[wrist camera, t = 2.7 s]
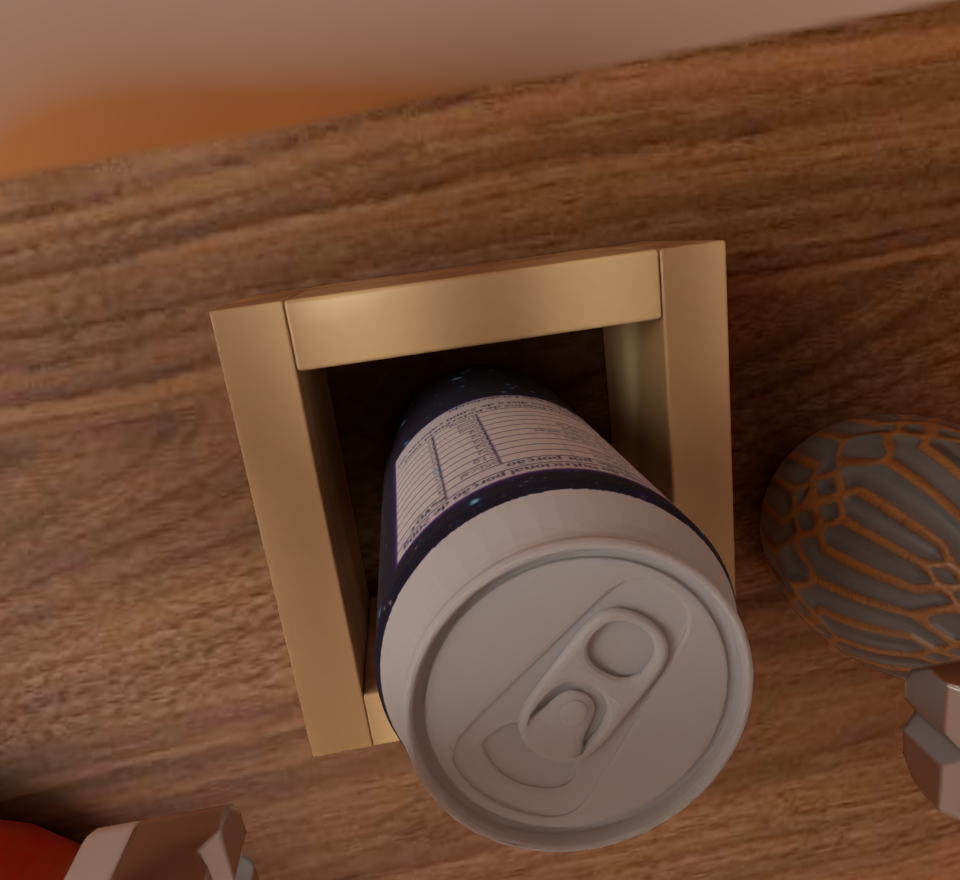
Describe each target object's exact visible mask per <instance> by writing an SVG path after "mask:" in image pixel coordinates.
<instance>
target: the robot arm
mask: <svg viewBox="0 0 960 880" xmlns="http://www.w3.org/2000/svg"><path fill="white" fill-rule="evenodd" d="M904 698H905V700H906V701H907V702H908V703H909V704H910V705H911V707H912V708H913V709H914V710H915V712H914V713H913V715H912V716H911V718H910V719H909V721H908V722H907V724H906V725H905V727H904V728H903V754H904V757H905V760H906V763H907V765H908V768H909V771H910V774H911V776H912V778H913V779H914V781H915V782H916V784H917V786H918V787H919V789H920V790H921V792H922V793H923V794H924V795H925V796H926V798H927V799H928V800H929V801H930V802H931V803H932V804H933V805H934V806H935V807H936V808H937V809H938V810H939V811H941V812H943V813H945V814H947V815H950V816H952V817H954V818H956V819H958V820H960V659H957V660H952V661H948V662H943V663H938V664H933V665H928V666H923V667H918V668H914V669H911V671H910V673H909V675H908V676H907V678H906V680H905V694H904ZM245 834H246V830H245V826H244V823H243V820H242V817H241V814H240V811H239V808H238V807H236V806H234V805H233V804H228V805H223V806H217V807H211V808H205V809H200V810H194V811H188V812H182V813H177V814H171V815H165V816H159V817H154V818H148V819H143V820H142V821H135V822H130V823H124V824H118V825H113V826H107V827H102V828H97V829H96V830H95V831H93V832H92V833H91V834H90V835H88V836H87V837H86V839H85V840H84V842H83V843H82V845H81V847H80V849H79V851H78V853H77V855H76V857H75V859H74V861H73V863H72V865H71V867H70V869H69V871H68V872H67V874H66V876H65V878H64V880H259V878H258V874H257V870H256V866H255V863H254V862H253V861H251V860H250V859H248V858H247V857H246V856H244V855H243V854H241V851H242V847H243V843H244V838H245Z"/></svg>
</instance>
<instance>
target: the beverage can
mask: <svg viewBox="0 0 960 880" xmlns="http://www.w3.org/2000/svg"><path fill="white" fill-rule="evenodd" d="M375 674H376V683H377V688H378V693H379V697H380V700H381V703H382V707H383V709H384V712H385V714H386V717H387V719H388V721H389V723H390V725H391V727H392V729H393V731H394V732H395V734H396V735H397V737H398V738H399V740H400V742H401V743H402V744H403V745H404V747H405V748H406V749H407V751H408V755H409V758H410V760H411V762H412V765H413V767H414V769H415V771H416V773H417V775H418V777H419V779H420V781H421V782H422V784H423V786H424V787H425V789H426V790H427V791H428V792H429V794H430V795H431V796H432V798H433V799H434V800H435V801H436V803H437V804H438V805H439V806H440V807H441V808H442V809H444V810H445V811H446V812H447V813H448V814H449V815H450V816H451V817H452V818H454V819H455V820H456V821H458V822H459V823H461V824H462V825H464V826H465V827H467V828H469V829H470V830H472V831H473V832H475V833H477V834H479V835H481V836H484V837H486V838H488V839H491V840H493V841H495V842H498V843H501V844H505V845H509V846H513V847H516V848H520V849H526V850H534V851H543V852H574V851H581V850H588V849H595V848H600V847H604V846H608V845H611V844H615V843H619V842H622V841H625V840H628V839H630V838H632V837H635V836H637V835H640V834H642V833H645V832H647V831H649V830H651V829H652V828H654V827H656V826H658V825H660V824H661V823H663V822H665V821H667V820H668V819H670V818H671V817H673V816H674V815H676V814H677V813H678V812H680V811H681V810H682V809H684V808H685V807H686V806H688V805H689V804H690V803H691V802H692V801H694V800H695V799H696V798H697V797H698V796H699V795H700V794H701V793H702V792H703V791H704V790H705V789H706V788H707V787H708V786H709V785H710V784H711V782H712V781H713V780H714V779H715V777H716V776H717V775H718V774H719V772H720V771H721V770H722V769H723V767H724V766H725V765H726V763H727V761H728V760H729V758H730V756H731V754H732V753H733V751H734V749H735V748H736V746H737V744H738V742H739V740H740V737H741V735H742V732H743V730H744V727H745V724H746V722H747V719H748V714H749V710H750V705H751V701H752V695H753V677H754V672H753V664H752V656H751V649H750V645H749V642H748V639H747V635H746V632H745V629H744V627H743V624H742V622H741V620H740V618H739V616H738V611H737V603H736V598H735V594H734V589H733V586H732V583H731V580H730V577H729V574H728V572H727V570H726V567H725V565H724V563H723V561H722V559H721V557H720V556H719V554H718V552H717V551H716V549H715V548H714V546H713V545H712V543H711V542H710V541H709V540H708V538H707V537H706V536H705V534H704V533H703V532H702V531H701V530H700V529H699V528H698V527H697V526H696V525H695V524H694V523H693V522H692V521H691V520H690V519H689V518H688V517H687V516H686V515H684V514H683V513H682V512H681V511H680V510H679V509H678V508H677V507H676V506H675V505H674V504H673V503H672V502H671V501H669V500H668V499H667V498H666V497H665V496H664V495H663V494H662V493H661V492H660V491H659V490H658V489H657V488H655V487H654V486H653V485H652V484H651V483H650V482H649V481H648V480H647V479H646V478H645V477H644V476H643V475H642V474H640V473H639V472H638V471H637V470H636V469H635V468H634V467H633V466H632V465H631V464H630V463H629V462H628V461H627V460H625V459H624V458H623V457H622V456H621V455H620V454H619V453H618V452H617V451H616V450H615V449H614V448H613V447H612V446H610V445H609V444H608V443H607V442H606V441H605V440H604V439H603V438H602V437H601V436H600V435H599V434H598V433H597V432H595V431H594V430H593V429H592V428H591V427H590V426H589V425H588V424H587V423H586V422H585V421H584V420H583V419H582V418H580V417H579V416H578V415H577V414H576V413H575V412H574V411H573V410H572V409H571V408H570V407H569V406H568V405H567V404H565V403H564V402H563V401H562V400H561V399H560V398H559V397H558V396H557V395H556V394H555V393H554V392H553V391H551V390H550V389H549V388H548V387H547V386H545V385H544V384H543V383H541V382H540V381H538V380H536V379H535V378H533V377H531V376H529V375H527V374H524V373H522V372H519V371H516V370H513V369H509V368H503V367H496V366H477V367H469V368H464V369H460V370H456V371H453V372H450V373H448V374H445V375H443V376H441V377H439V378H437V379H435V380H434V381H432V382H430V383H429V384H427V385H426V386H425V387H423V388H422V389H421V390H419V391H418V392H417V393H416V394H415V395H414V396H413V397H412V398H411V399H410V400H409V401H408V402H407V404H406V405H405V406H404V407H403V409H402V410H401V412H400V413H399V415H398V416H397V418H396V420H395V422H394V424H393V426H392V428H391V431H390V433H389V437H388V440H387V444H386V449H385V457H384V476H383V496H382V517H381V537H380V558H379V579H378V599H377V620H376V641H375Z"/></svg>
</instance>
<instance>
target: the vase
mask: <svg viewBox="0 0 960 880" xmlns="http://www.w3.org/2000/svg"><path fill="white" fill-rule="evenodd" d="M760 535H761V541H762V547H763V552H764V556H765V559H766V562H767V564H768V567H769V569H770V572H771V574H772V576H773V579H774V580H775V582H776V584H777V586H778V587H779V589H780V591H781V593H782V594H783V596H784V597H785V599H786V600H787V602H788V603H789V604H790V605H791V606H792V608H793V609H794V610H795V611H796V612H797V613H798V615H799V616H800V617H801V618H802V619H803V620H804V621H805V622H806V623H807V624H808V625H809V626H810V627H811V628H812V629H813V630H814V631H815V632H816V633H818V634H819V635H820V636H821V637H823V638H824V639H825V640H826V641H827V642H829V643H830V644H831V645H832V646H834V647H835V648H837V649H838V650H840V651H842V652H843V653H845V654H846V655H848V656H850V657H851V658H853V659H855V660H857V661H859V662H861V663H863V664H865V665H867V666H869V667H872V668H874V669H876V670H879V671H881V672H883V673H886V674H889V675H892V676H895V677H898V678H901V679H904V680H906V678H907V676H908V675H909V673H910V671H911V669H914V668H918V667H923V666H928V665H933V664H938V663H943V662H948V661H952V660H957V659H960V424H957V423H953V422H950V421H946V420H942V419H937V418H932V417H927V416H922V415H915V414H877V415H868V416H861V417H856V418H852V419H849V420H845V421H842V422H838V423H835V424H833V425H830V426H828V427H826V428H824V429H822V430H820V431H818V432H816V433H815V434H813V435H811V436H810V437H808V438H807V439H806V440H804V441H803V442H802V443H801V444H799V445H798V446H797V447H796V448H795V449H794V450H793V451H792V452H791V453H790V454H789V455H788V456H787V457H786V458H785V459H784V461H783V462H782V463H781V465H780V466H779V467H778V469H777V470H776V472H775V474H774V475H773V477H772V479H771V481H770V483H769V486H768V488H767V490H766V493H765V496H764V500H763V503H762V508H761V515H760Z"/></svg>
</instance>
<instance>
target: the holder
mask: <svg viewBox="0 0 960 880" xmlns="http://www.w3.org/2000/svg"><path fill="white" fill-rule="evenodd" d="M209 315H210V319H211V323H212V328H213V332H214V336H215V340H216V345H217V349H218V353H219V357H220V362H221V366H222V370H223V375H224V379H225V383H226V387H227V392H228V396H229V400H230V405H231V409H232V413H233V417H234V422H235V426H236V430H237V435H238V439H239V443H240V447H241V452H242V456H243V460H244V465H245V469H246V473H247V477H248V482H249V486H250V490H251V495H252V499H253V503H254V507H255V512H256V516H257V520H258V525H259V529H260V533H261V537H262V542H263V546H264V550H265V555H266V559H267V563H268V567H269V572H270V576H271V580H272V585H273V589H274V593H275V597H276V602H277V606H278V610H279V615H280V619H281V623H282V627H283V632H284V636H285V640H286V645H287V649H288V653H289V657H290V662H291V666H292V670H293V675H294V679H295V683H296V687H297V692H298V696H299V700H300V705H301V709H302V713H303V717H304V722H305V726H306V730H307V735H308V739H309V743H310V747H311V752H312V755H313V757H317V756H322V755H328V754H333V753H338V752H344V751H349V750H354V749H360V748H365V747H370V746H372V745H373V744H374V745H380V744H385V743H390V742H396V741H400V740H399V738H398V737H397V735H396V734H395V732H394V731H393V729H392V727H391V725H390V723H389V721H388V719H387V717H386V714H385V712H384V709H383V707H382V703H381V700H380V697H379V693H378V688H377V683H376V674H375V641H376V620H377V599H378V597H372V598H370V597H369V592H368V587H367V582H366V576H365V571H364V566H363V561H362V555H361V550H360V545H359V540H358V535H357V529H356V524H355V519H354V514H353V508H352V503H351V498H350V493H349V488H348V482H347V477H346V472H345V467H344V461H343V456H342V451H341V446H340V441H339V435H338V430H337V425H336V420H335V414H334V409H333V404H332V399H331V394H330V388H329V383H328V378H327V373H326V367H333V366H340V365H346V364H353V363H360V362H367V361H374V360H381V359H388V358H395V357H401V356H408V355H415V354H422V353H429V352H436V351H443V350H450V349H456V348H463V347H470V346H477V345H484V344H491V343H498V342H505V341H512V340H518V339H525V338H532V337H539V336H546V335H553V334H560V333H567V332H573V331H580V330H587V329H594V328H601V327H603V337H604V350H605V362H606V375H607V388H608V400H609V413H610V426H611V439H612V447H613V448H614V449H615V450H616V451H617V452H618V453H619V454H620V455H621V456H622V457H623V458H624V459H625V460H627V461H628V462H629V463H630V464H631V465H632V466H633V467H634V468H635V469H636V470H637V471H638V472H639V473H640V474H642V475H643V476H644V477H645V478H646V479H647V480H648V481H649V482H650V483H651V484H652V485H653V486H654V487H655V488H657V489H658V490H659V491H660V492H661V493H662V494H663V495H664V496H665V497H666V498H667V499H668V500H669V501H671V502H672V503H673V504H674V505H675V506H676V507H677V508H678V509H679V510H680V511H681V512H682V513H683V514H684V515H686V516H687V517H688V518H689V519H690V520H691V521H692V522H693V523H694V524H695V525H696V526H697V527H698V528H699V529H700V530H701V531H702V532H703V533H704V534H705V536H706V537H707V538H708V540H709V541H710V542H711V543H712V545H713V546H714V548H715V549H716V551H717V552H718V554H719V556H720V557H721V559H722V561H723V563H724V565H725V567H726V570H727V572H728V574H729V577H730V580H731V583H732V586H733V589H734V594H735V598H736V589H735V554H734V519H733V485H732V450H731V415H730V380H729V346H728V311H727V276H726V243H725V241H723V240H692V241H643V242H636V243H629V244H621V245H614V246H607V247H599V248H592V249H585V250H578V251H570V252H563V253H556V254H548V255H541V256H534V257H526V258H519V259H512V260H504V261H497V262H490V263H482V264H475V265H468V266H460V267H453V268H446V269H438V270H431V271H424V272H416V273H409V274H402V275H394V276H387V277H380V278H372V279H365V280H358V281H350V282H343V283H336V284H329V285H321V286H314V287H312V288H309V287H306V288H299V289H291V290H284V291H277V292H269V293H262V294H256V295H253V296H250V297H247V298H245V299H242V300H239V301H236V302H233V303H231V304H228V305H225V306H222V307H219V308H216V309H214V310H211V311H210V312H209Z"/></svg>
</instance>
